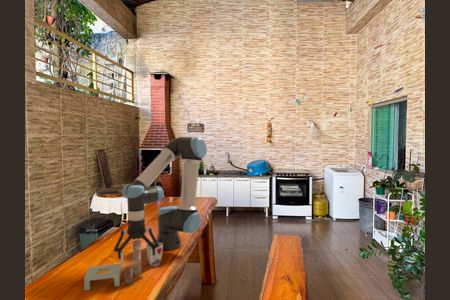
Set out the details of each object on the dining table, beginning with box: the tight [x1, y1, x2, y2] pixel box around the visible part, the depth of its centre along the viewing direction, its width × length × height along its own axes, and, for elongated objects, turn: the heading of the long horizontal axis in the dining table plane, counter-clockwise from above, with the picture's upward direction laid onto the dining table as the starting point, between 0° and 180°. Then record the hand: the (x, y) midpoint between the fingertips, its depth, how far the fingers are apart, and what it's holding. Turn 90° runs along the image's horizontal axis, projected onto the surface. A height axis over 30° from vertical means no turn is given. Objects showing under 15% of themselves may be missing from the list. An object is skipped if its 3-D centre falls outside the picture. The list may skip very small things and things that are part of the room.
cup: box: [146, 241, 163, 267], centre depth 156 cm, size 8×8×10 cm
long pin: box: [132, 239, 142, 277], centre depth 144 cm, size 3×3×16 cm
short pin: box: [124, 266, 134, 286], centre depth 136 cm, size 3×3×7 cm
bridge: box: [83, 263, 122, 291], centre depth 138 cm, size 14×12×5 cm
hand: (137, 263), depth 144 cm, fingers open, 13 cm apart
